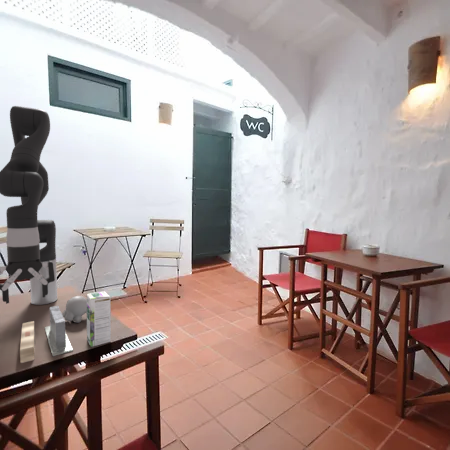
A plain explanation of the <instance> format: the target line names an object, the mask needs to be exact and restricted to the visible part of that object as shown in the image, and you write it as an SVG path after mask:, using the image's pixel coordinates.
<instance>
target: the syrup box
mask: <svg viewBox="0 0 450 450" xmlns="http://www.w3.org/2000/svg"><path fill="white" fill-rule="evenodd" d="M86 299H87V314H86V341H87V342H88V345H89V346H90V347H91V348H93V347H97V346H99V345H103V344H108V343H110V342H111V341H112V340H111V339H112V337H111V335H112V334H111V332H112V331H111V325H112V324H111V321H112V320H111V312H112V311H111V307H112V306H111V296H110V295H109V293H108V292H106V291H95V292H90V293H87V294H86Z"/></svg>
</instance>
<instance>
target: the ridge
mask: <svg viewBox="0 0 450 450" xmlns="http://www.w3.org/2000/svg"><path fill="white" fill-rule="evenodd" d="M62 313H63V312H62V311H61V309H60V307H59V305H53V306H50V307H49V325H48V326H45V327H44V331H45V334H46V338H47V342H48V345H49V348H50V351H51V356H52V357H56V356H59V355H62V354H67V353H71V352H73V351H74V348H73V346H72V345H71V342H70V341H71V340H70V339H69V337H68V334H67V332H66V320H65V318H64V317H63V315H62Z"/></svg>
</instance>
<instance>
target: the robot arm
mask: <svg viewBox="0 0 450 450" xmlns="http://www.w3.org/2000/svg"><path fill="white" fill-rule="evenodd" d="M50 120H51V119H50V115H49V113H48V112H47V111H46V110H43V109H41V108H33V107H28V106H27V107H25V106H22V105H21V106H19V105H13V106H12V107H10V110H9V121H10V128H11V134H12V139H13V145H14V146H13V149H12V152H11V155H10V160H9V161H8V162H7V164H6V165H5V166H4V167H3V168H2V169H1V170H0V195H2V196H3V197H6V198H20V200H21V201H20V202H21V204H19V205H13V206H9V207H7V209H6V213H5V214H6V229H7V230H6V240H5V241H6V242H5V243H6V255H7V264H6V265H4V266H2V265H1V266H0V275H3V274H4V272H5V271H6V272H7V273H8V274H9V276H8V277H7V278H6V280H5V281H4V283H0V291H1V295H2V302H4V303H5V304H6V305H7V304H10V294H9V292H10V291H9V287H10V286H11V285H12V284H13V283H14V282H15V281H16V280H17V281H23V280H29V285H30V286H29V287H30V303H31V304H32V305H36V306H40V305H41V306H42V305H48V304H52V303H54V302H56V301H57V300H58V278H57V254H56V253H57V252H56V239H57V238H56V237H57V235H56V232H57V228H56V223H55V221H54V219H53V220H52V219H38V208H39V206H40V205H41V203H42V202H43V200H44V199H45V197H46V196H47V194H48V192H49V189H50V188H49V186H50V185H49V184H50V183H49V174H48V171H47V170H46V168H45V166H44V164H43V163H41V161H40V160H41V154H42V152H43V150H44V148H45V145H46V143H47V141H48V138H49V135H50V131H51V121H50ZM40 244H46V245H45V246H44V247H42V248H40V247H41V246H40Z"/></svg>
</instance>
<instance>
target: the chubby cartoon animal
mask: <svg viewBox="0 0 450 450" xmlns="http://www.w3.org/2000/svg"><path fill="white" fill-rule="evenodd" d="M61 313H62V315H63V318H64V320H65V322H66V321H67V322H74V323H76V324H77V323H81V321H82V319H83V318H82V317H83V315H85V314H86V315H87V297H85V296H82V295H75V296H72V297H71V298H70V299H68V300H67V302H66V304H65V310H63V312H61Z"/></svg>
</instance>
